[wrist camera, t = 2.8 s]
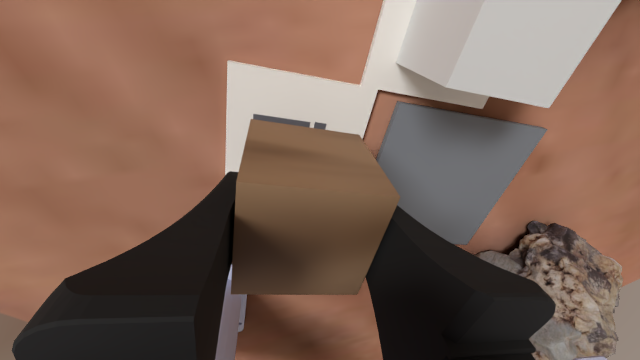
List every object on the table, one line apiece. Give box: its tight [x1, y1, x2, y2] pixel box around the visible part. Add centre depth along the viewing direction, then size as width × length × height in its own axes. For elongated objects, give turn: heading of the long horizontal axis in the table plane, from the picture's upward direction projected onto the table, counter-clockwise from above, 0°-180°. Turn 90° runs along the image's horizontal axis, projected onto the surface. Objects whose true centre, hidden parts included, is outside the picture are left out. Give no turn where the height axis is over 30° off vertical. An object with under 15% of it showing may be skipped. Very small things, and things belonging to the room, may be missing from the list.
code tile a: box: [225, 60, 378, 175], centre depth 16 cm, size 8×8×1 cm
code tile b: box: [360, 0, 489, 109], centre depth 13 cm, size 8×8×1 cm
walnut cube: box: [231, 119, 400, 295], centre depth 11 cm, size 5×5×5 cm
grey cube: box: [396, 0, 621, 108], centre depth 11 cm, size 5×5×5 cm
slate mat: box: [376, 101, 547, 245], centre depth 20 cm, size 11×11×1 cm
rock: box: [475, 221, 623, 360], centre depth 22 cm, size 9×12×10 cm
